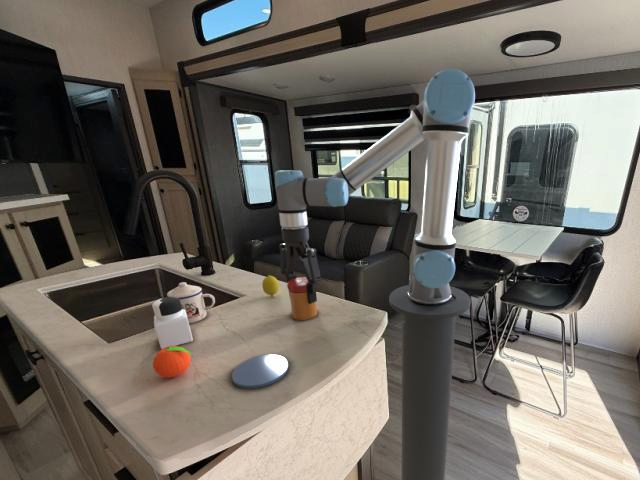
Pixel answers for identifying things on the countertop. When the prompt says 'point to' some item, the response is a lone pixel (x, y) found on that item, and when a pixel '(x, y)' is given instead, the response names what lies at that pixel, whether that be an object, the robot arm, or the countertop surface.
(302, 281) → the lid
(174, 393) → the countertop surface
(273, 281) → the lemon
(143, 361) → the countertop surface
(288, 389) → the countertop surface
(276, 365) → the saucer
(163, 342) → the medicine bottle
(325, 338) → the countertop surface
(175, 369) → the clementine
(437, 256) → the robot arm
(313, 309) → the jar
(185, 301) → the teacup with lid
